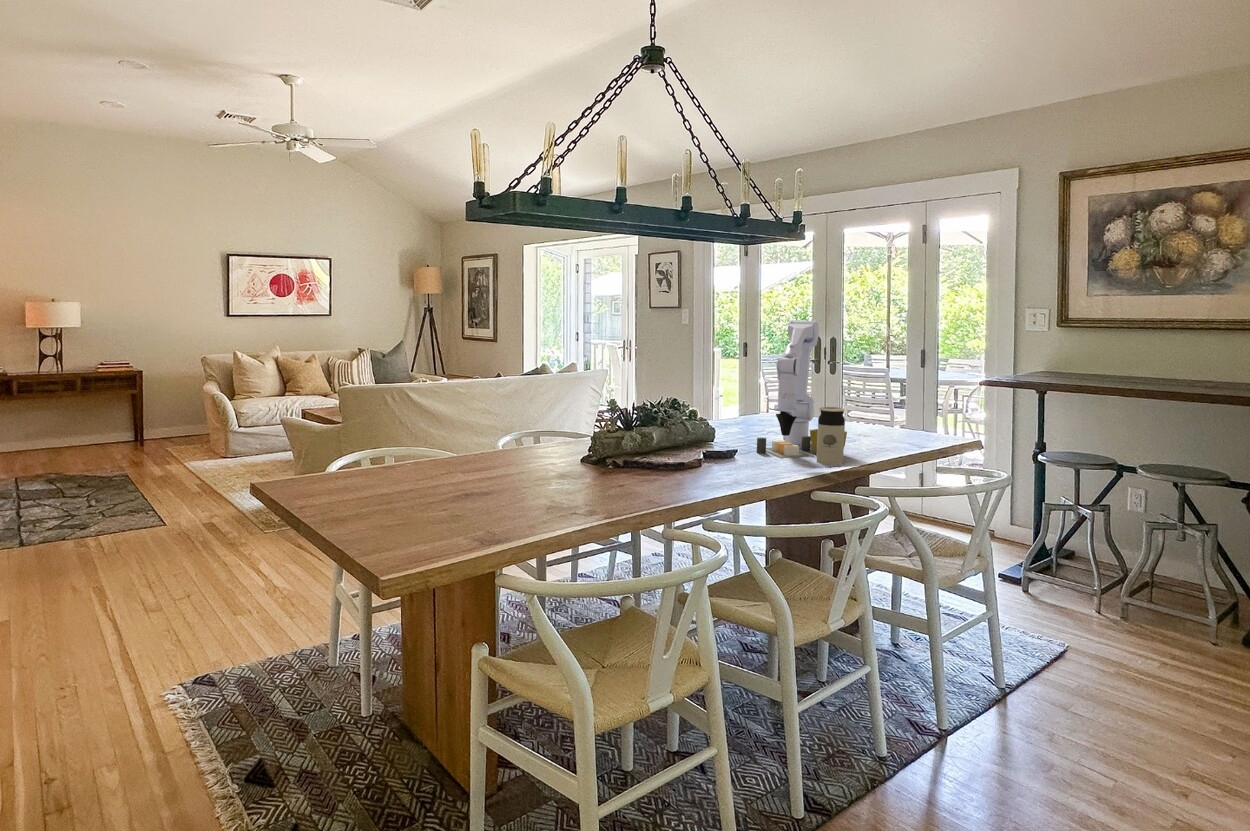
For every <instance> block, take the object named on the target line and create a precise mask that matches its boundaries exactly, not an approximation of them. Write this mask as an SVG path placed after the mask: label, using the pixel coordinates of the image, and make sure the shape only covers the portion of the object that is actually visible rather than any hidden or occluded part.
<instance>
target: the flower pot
mask: <svg viewBox="0 0 1250 831" xmlns="http://www.w3.org/2000/svg"><path fill="white" fill-rule="evenodd" d="M847 434H848V431H846V430H844V448H845V446H846V441H847ZM809 436H810V438H811V445H810V446H811V448H812V450H813V453H814V454H816V455H817V438H818V428H815V429H809Z"/></svg>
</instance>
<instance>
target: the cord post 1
mask: <svg viewBox="0 0 1250 831" xmlns="http://www.w3.org/2000/svg"><path fill="white" fill-rule="evenodd" d="M766 448H767V437H757V438H756V453H757V454H760V455H761V454H762V455H765V454H766V453H767V452H766Z"/></svg>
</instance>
